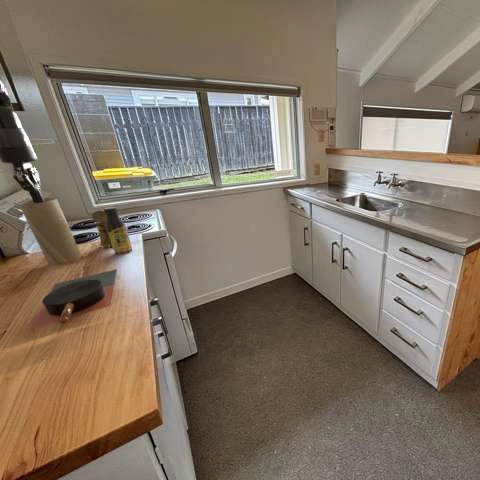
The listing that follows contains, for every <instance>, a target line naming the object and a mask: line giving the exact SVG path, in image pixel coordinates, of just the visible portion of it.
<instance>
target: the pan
mask: <svg viewBox="0 0 480 480" xmlns="http://www.w3.org/2000/svg"><path fill="white" fill-rule="evenodd" d="M50 292H51V291H50ZM50 292H49V293H48V294H46V295H45V296H44V297H43V298H42V305H43V304H44V306H45V308H46V310H47V312H48V313H49V314H50V315H53V316H60V318H59V321H58V323H59V324H61V325H65V324H67V323H68V322H69V321H70V318H71V317H70V316H71V314H72V313H75V312H78V311H81V310H84V309H86V308H88V307H91V306H93V305H94V304H96V303H98V302H99V301H100V300H102V299H103V298H104V297H105V295H106V292H105V289H104V287H103V284H102V282H101V281H99V280H84V281H79V282H75V283H72V284H69V285H66V286H63V287H61V288H58V289H56V290H54V291H53V292H51V293H50Z"/></svg>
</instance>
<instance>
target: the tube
mask: <svg viewBox="0 0 480 480" xmlns="http://www.w3.org/2000/svg"><path fill="white" fill-rule="evenodd" d="M43 198H44V202H42V203H34V202H33V200H32V199H30V200H26V201H25V200H24V201H22V202H18V206H19V208H20V210H21V212H22V214H23V216H24V218H25V220H26V223H27V224H28V226H29V229H30V230H31V232H32V234H33V236H34V239H35V240H36V242H37V244H38V246H39V249H40V250H41V251H42V254H43V256H44V258H45V260H46V262H47V264H48V266H49V267H52V266H60V265H66V264H68V263H72V262H76V261H80V260H81V259H80V258H81V257H82V258H83V256H82V254H81V251H80V249H79V246H78V245H77V241H76V240H75V237H74V235H73V233H72V230H71V228H70V226H69V224H68V221H67V218H66V217H65V214H64V213H63V210H62V208H61V205H60V203H59V201H58V199H57V197H43ZM79 259H80V260H79Z"/></svg>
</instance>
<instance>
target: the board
mask: <svg viewBox="0 0 480 480" xmlns="http://www.w3.org/2000/svg"><path fill="white" fill-rule="evenodd" d="M117 272H118V268H116V269H111V270H108V271H103V272H98V273H95V274H91V275H85V276H81V277H77V278H73V279H69V280H65V281H61V282H57V283H55V284H54V285H53V287H52V289H51V290H50V292H49V293H51V292H53V291H54V290H56V289H58V288H61V287H63V286H66V285H69V284H72V283H75V282H79V281H84V280H99V281H101V282H102V284H103V287H104V289H105V292H106V295H105V297H104V298H103V299H102V300H100V301H99V302H98V303H96V304H94V305H93V306H91V307H88V308H86V309H84V310H81V311H78V312H75V313H72V314H71V316H70V318H73V317H76V316H80V315H84V314H87V313H90V312H93V311H97V310H100V309H101V310H102V309H104V308H107V307H110V306H112V302H113V297H114V290H115V285H116V278H117ZM59 318H60V316H53V315H50V314H49V313H48V312H47V310H46V308H45V306H44V304H43V303H42V305H41V307H40V309H39V311H38V312H37V315H36V316H35V317H34V319H33V321H32V322H31V324H30V325H29V328H28V330H33V329H36V328H39V327H43V326H46V325H51V324H52V323H56V322H59Z"/></svg>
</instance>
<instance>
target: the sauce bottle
mask: <svg viewBox="0 0 480 480" xmlns="http://www.w3.org/2000/svg"><path fill="white" fill-rule="evenodd" d="M103 212H105V213H106V215H107V219H108V221H107V224H106V227H107V230H108V234H109V237H110V240H111V243H112V246H113V247H112V249H113V252H114V254H115V255H116V256H121V255H126V254H128V253H129V254H130V253H131V252H132V251H133V247H132V243H131V240H130V236H129V234H128V230H127V227H126V225H125V223H124V221H123V220H122V219H121V218H120V216H119V213H118V208H117V207H116V206H110V207H105V208H103Z"/></svg>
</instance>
